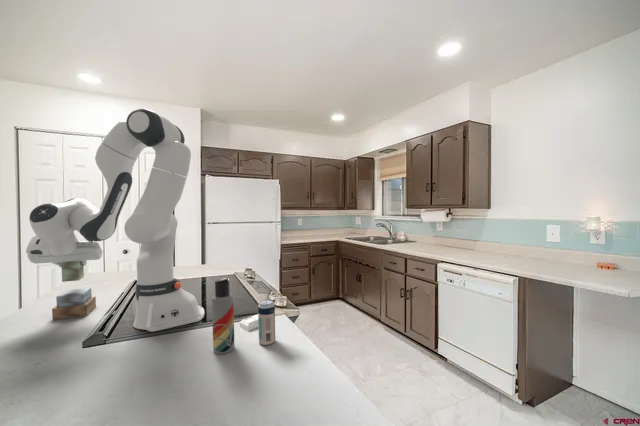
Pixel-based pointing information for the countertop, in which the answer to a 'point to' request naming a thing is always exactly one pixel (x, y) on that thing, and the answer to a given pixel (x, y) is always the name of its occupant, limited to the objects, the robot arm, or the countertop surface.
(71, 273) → the green brick
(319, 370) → the countertop surface
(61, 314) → the pedestal
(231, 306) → the lotion bottle
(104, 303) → the countertop surface
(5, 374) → the countertop surface
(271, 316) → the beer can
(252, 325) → the soap bar
